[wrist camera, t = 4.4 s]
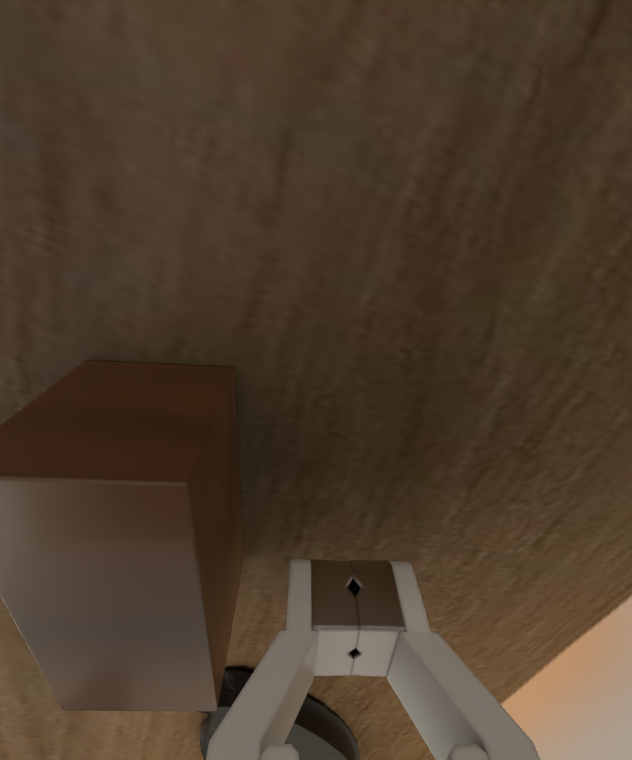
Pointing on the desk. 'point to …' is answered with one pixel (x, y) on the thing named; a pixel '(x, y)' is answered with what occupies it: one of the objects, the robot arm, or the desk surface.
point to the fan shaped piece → (309, 731)
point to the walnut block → (125, 533)
